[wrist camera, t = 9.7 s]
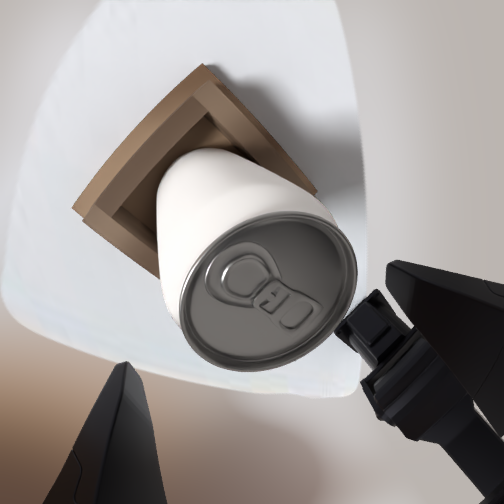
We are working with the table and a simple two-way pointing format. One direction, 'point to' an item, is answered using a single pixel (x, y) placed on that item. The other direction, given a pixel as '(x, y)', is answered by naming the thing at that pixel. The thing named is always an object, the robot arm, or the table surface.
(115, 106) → the table surface
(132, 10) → the table surface
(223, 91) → the socket
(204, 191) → the can
